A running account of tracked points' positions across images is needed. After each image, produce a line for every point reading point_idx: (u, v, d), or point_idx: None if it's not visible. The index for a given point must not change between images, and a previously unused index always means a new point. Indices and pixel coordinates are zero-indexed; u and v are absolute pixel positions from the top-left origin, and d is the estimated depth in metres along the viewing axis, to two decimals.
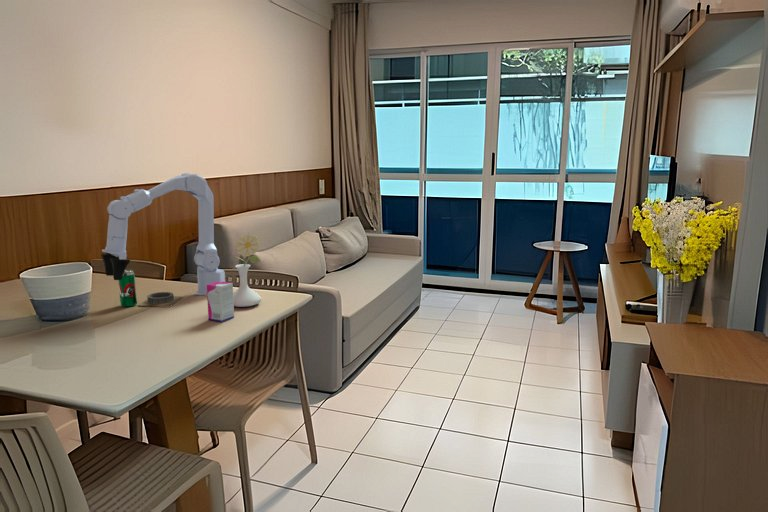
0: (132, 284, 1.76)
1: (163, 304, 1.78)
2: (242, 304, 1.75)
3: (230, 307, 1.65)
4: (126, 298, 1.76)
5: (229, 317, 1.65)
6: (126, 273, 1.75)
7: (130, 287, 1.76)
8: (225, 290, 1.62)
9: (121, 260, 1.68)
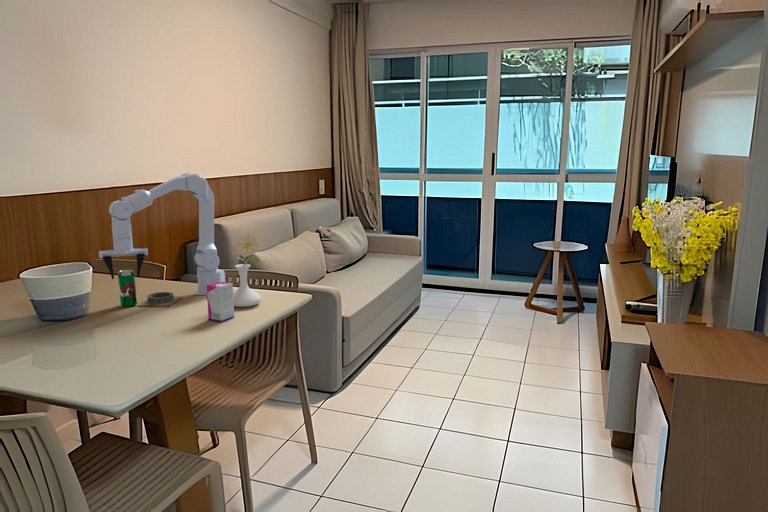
0: (132, 284, 1.76)
1: (163, 304, 1.78)
2: (242, 304, 1.75)
3: (230, 307, 1.65)
4: (126, 298, 1.76)
5: (229, 317, 1.65)
6: (126, 273, 1.75)
7: (130, 287, 1.76)
8: (225, 290, 1.62)
9: (144, 256, 1.78)
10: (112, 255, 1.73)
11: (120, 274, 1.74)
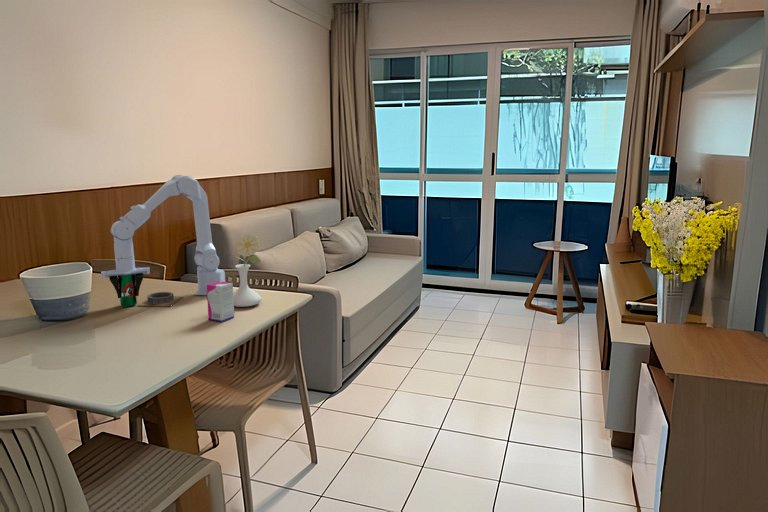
0: (132, 284, 1.76)
1: (163, 304, 1.78)
2: (242, 304, 1.75)
3: (230, 307, 1.65)
4: (126, 298, 1.76)
5: (229, 317, 1.65)
6: None
7: (130, 287, 1.76)
8: (225, 290, 1.62)
9: (142, 275, 1.79)
10: (114, 275, 1.75)
11: (120, 274, 1.74)
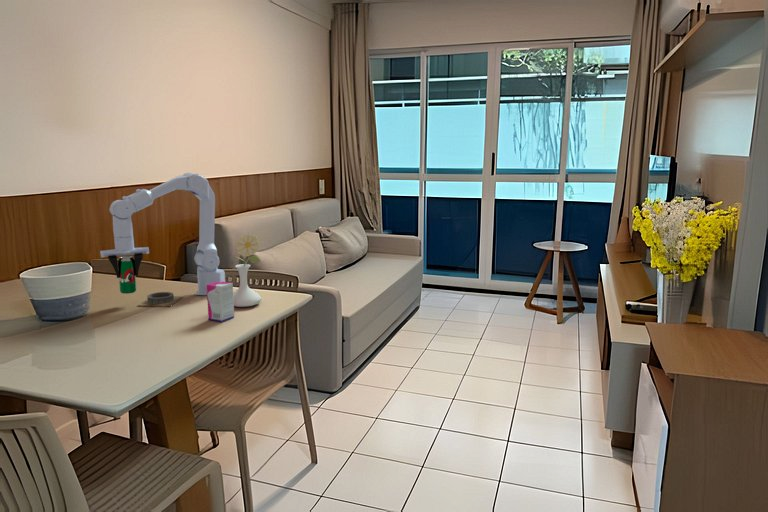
0: (132, 270, 1.75)
1: (163, 304, 1.78)
2: (242, 304, 1.75)
3: (230, 307, 1.65)
4: (125, 285, 1.75)
5: (229, 317, 1.65)
6: (126, 259, 1.74)
7: (130, 273, 1.75)
8: (225, 290, 1.62)
9: None
10: (113, 254, 1.73)
11: (120, 260, 1.74)
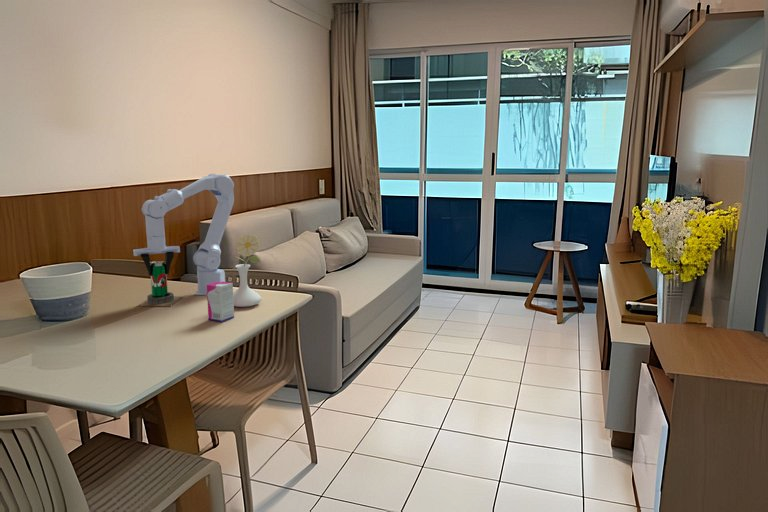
0: (164, 275, 1.80)
1: (163, 304, 1.78)
2: (242, 304, 1.75)
3: (230, 307, 1.65)
4: (158, 289, 1.80)
5: (229, 317, 1.65)
6: (159, 264, 1.79)
7: (163, 277, 1.80)
8: (225, 290, 1.62)
9: None
10: (146, 253, 1.78)
11: (153, 265, 1.79)
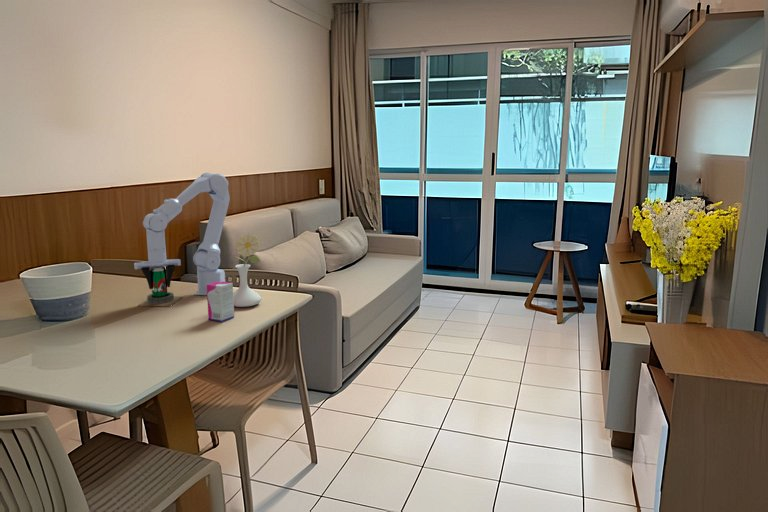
0: (164, 279, 1.80)
1: (163, 304, 1.78)
2: (242, 304, 1.75)
3: (230, 307, 1.65)
4: (159, 294, 1.80)
5: (229, 317, 1.65)
6: (159, 269, 1.79)
7: (163, 282, 1.80)
8: (225, 290, 1.62)
9: None
10: (147, 266, 1.78)
11: (153, 270, 1.78)
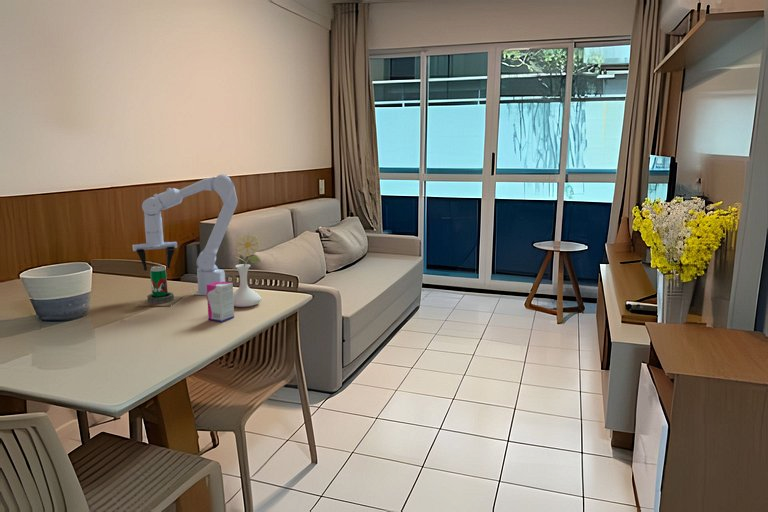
0: (164, 279, 1.80)
1: (163, 304, 1.78)
2: (242, 304, 1.75)
3: (230, 307, 1.65)
4: (159, 294, 1.80)
5: (229, 317, 1.65)
6: (159, 269, 1.79)
7: (163, 282, 1.80)
8: (225, 290, 1.62)
9: (173, 248, 1.91)
10: (145, 248, 1.86)
11: (153, 270, 1.78)
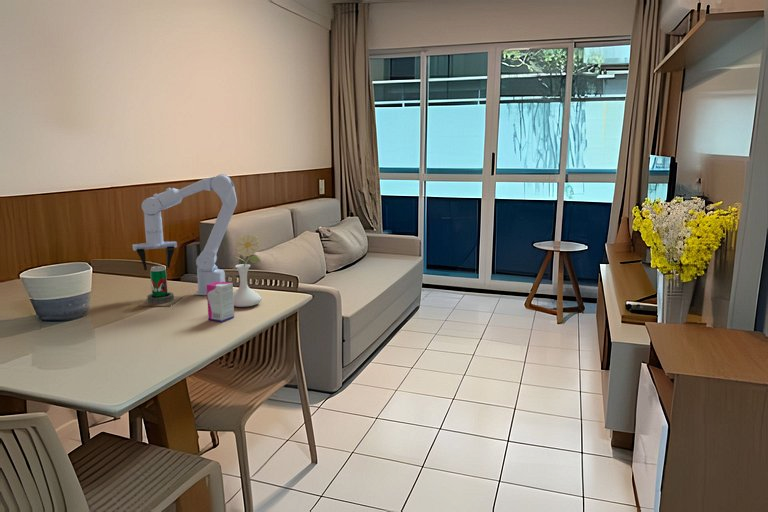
0: (164, 279, 1.80)
1: (163, 304, 1.78)
2: (242, 304, 1.75)
3: (230, 307, 1.65)
4: (159, 294, 1.80)
5: (229, 317, 1.65)
6: (159, 269, 1.79)
7: (163, 282, 1.80)
8: (225, 290, 1.62)
9: (173, 248, 1.91)
10: (145, 248, 1.86)
11: (153, 270, 1.78)
